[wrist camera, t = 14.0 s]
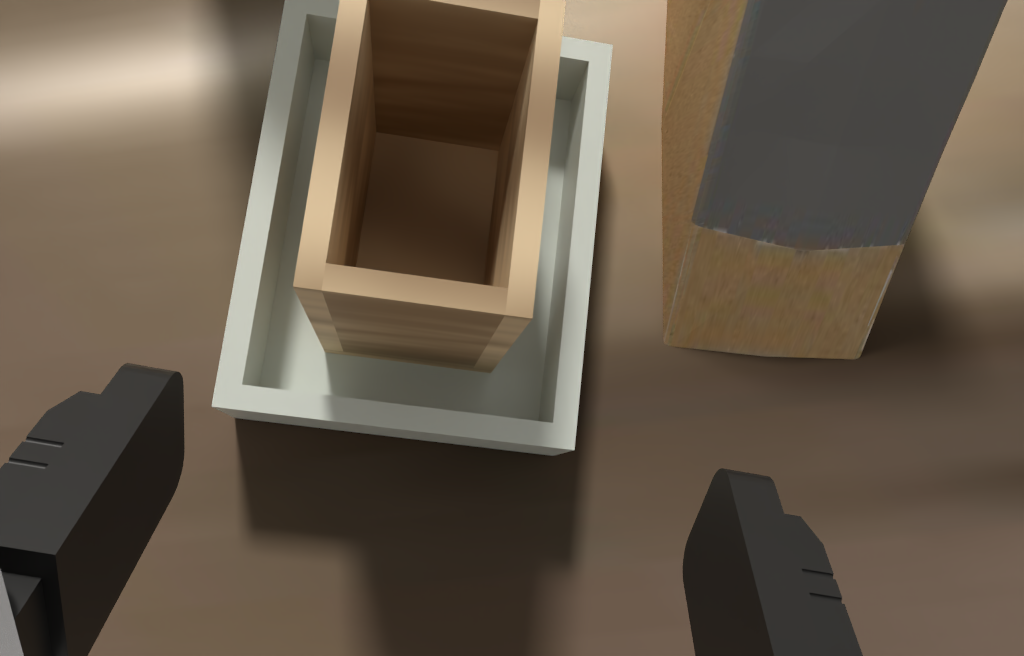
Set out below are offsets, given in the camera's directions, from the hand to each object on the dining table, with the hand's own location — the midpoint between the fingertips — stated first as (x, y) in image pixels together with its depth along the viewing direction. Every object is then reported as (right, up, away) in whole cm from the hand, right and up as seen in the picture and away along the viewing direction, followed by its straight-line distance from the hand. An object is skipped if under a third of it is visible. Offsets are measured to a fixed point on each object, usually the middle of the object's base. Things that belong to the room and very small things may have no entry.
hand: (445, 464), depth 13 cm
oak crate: (-2, +5, +19) cm, 20 cm away
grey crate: (-2, +5, +20) cm, 21 cm away
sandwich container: (+11, +8, +23) cm, 27 cm away
